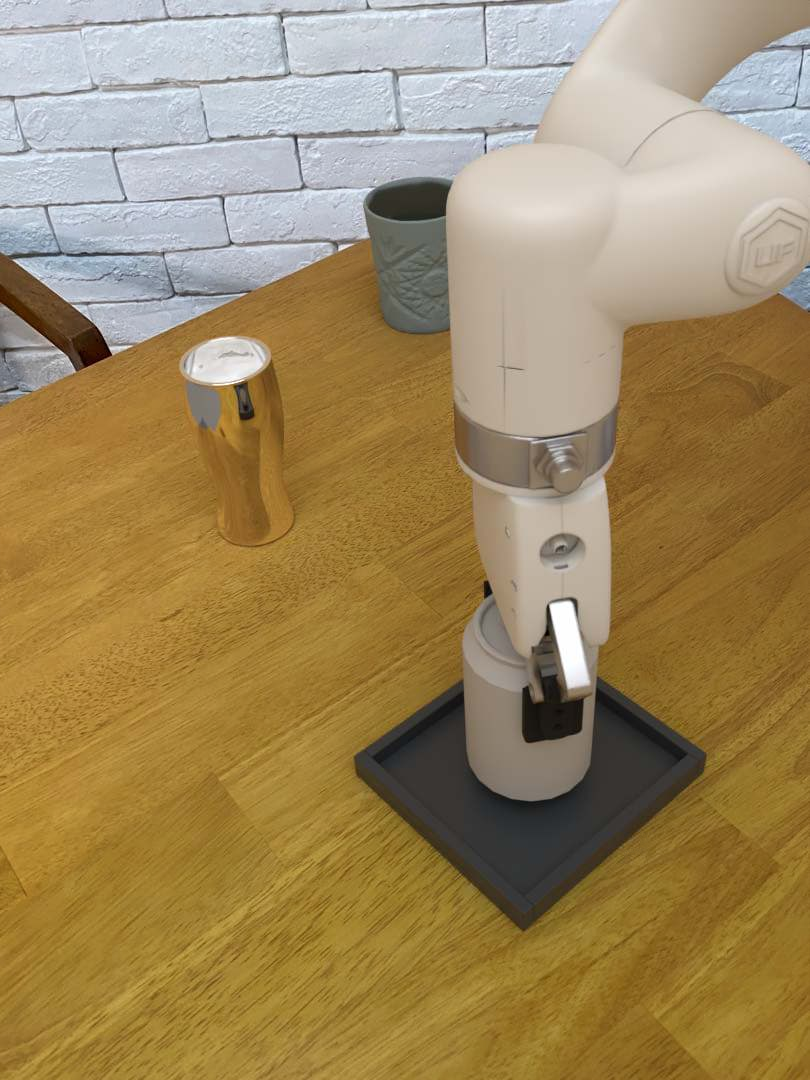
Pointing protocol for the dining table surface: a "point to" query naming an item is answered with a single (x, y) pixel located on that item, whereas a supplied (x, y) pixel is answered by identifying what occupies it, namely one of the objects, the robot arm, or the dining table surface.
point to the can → (516, 715)
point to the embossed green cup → (411, 252)
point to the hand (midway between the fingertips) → (530, 677)
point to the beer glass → (239, 435)
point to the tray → (529, 826)
